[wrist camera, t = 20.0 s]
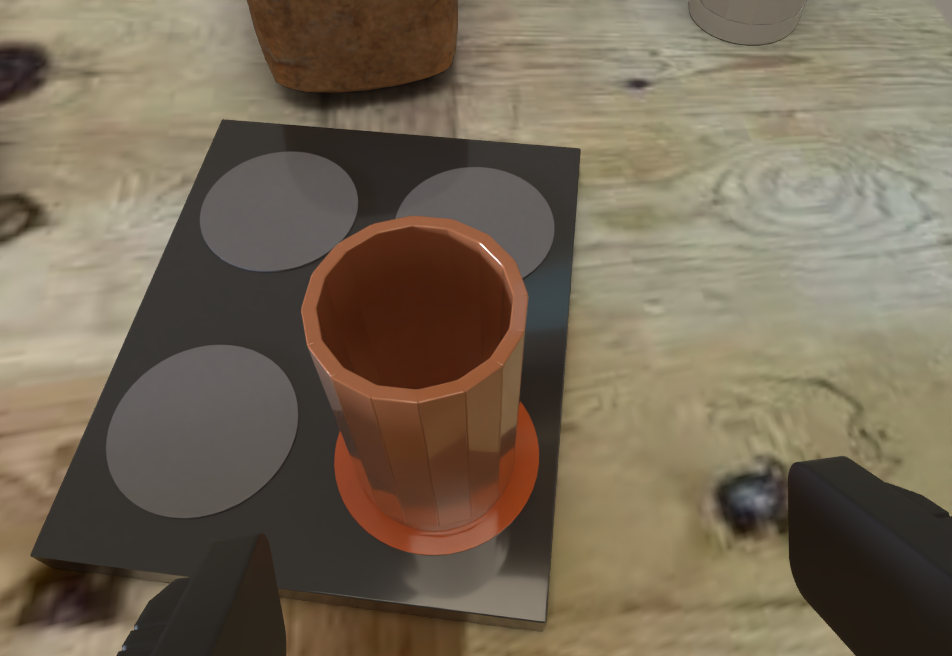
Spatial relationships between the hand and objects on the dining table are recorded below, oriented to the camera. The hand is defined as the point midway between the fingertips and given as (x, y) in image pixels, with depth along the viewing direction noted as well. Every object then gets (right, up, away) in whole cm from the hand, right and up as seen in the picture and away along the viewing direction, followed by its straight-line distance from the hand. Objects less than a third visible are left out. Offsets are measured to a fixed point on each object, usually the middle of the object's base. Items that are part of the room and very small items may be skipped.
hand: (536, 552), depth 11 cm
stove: (-6, +3, +21) cm, 22 cm away
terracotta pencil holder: (-2, -1, +16) cm, 17 cm away
